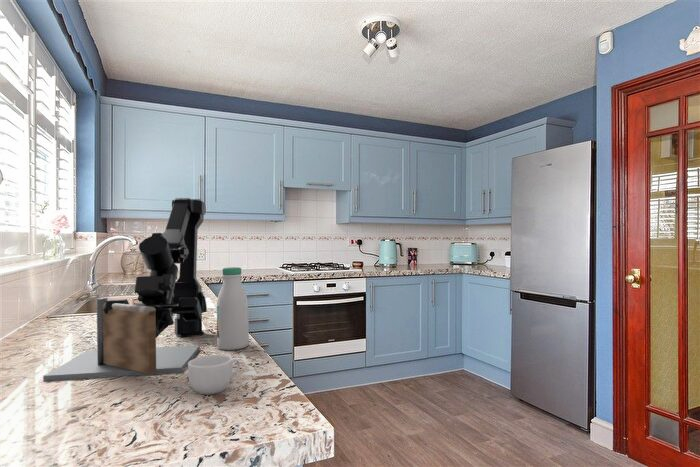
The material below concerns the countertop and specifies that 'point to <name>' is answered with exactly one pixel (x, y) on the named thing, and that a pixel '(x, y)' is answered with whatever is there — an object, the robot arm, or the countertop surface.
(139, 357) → the panel
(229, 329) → the milk bottle
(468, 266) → the countertop surface
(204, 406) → the countertop surface
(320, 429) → the countertop surface
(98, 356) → the hinge post
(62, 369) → the board
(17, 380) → the countertop surface
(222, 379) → the teacup
